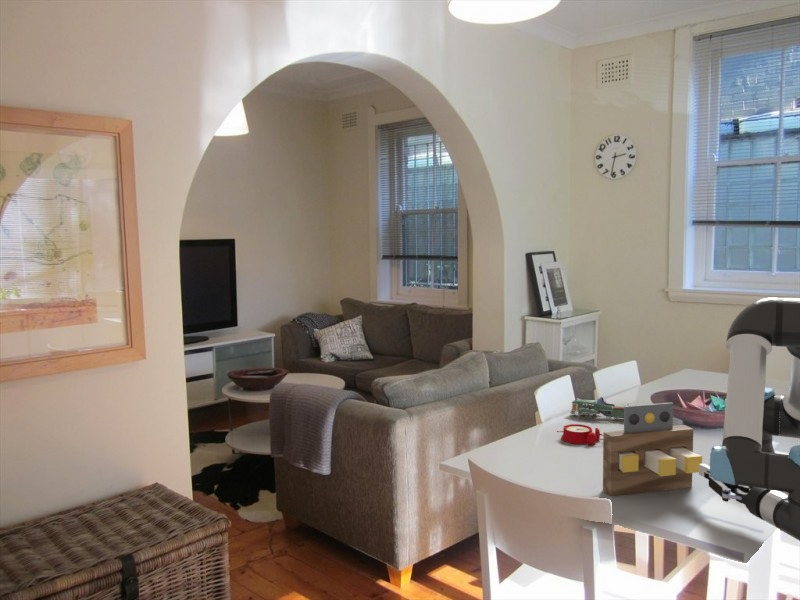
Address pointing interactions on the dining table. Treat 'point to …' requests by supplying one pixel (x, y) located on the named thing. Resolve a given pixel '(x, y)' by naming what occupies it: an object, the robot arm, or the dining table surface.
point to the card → (648, 417)
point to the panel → (644, 477)
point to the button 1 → (628, 461)
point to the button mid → (659, 462)
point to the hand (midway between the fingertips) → (701, 468)
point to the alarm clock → (580, 434)
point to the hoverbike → (597, 408)
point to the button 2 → (686, 459)
